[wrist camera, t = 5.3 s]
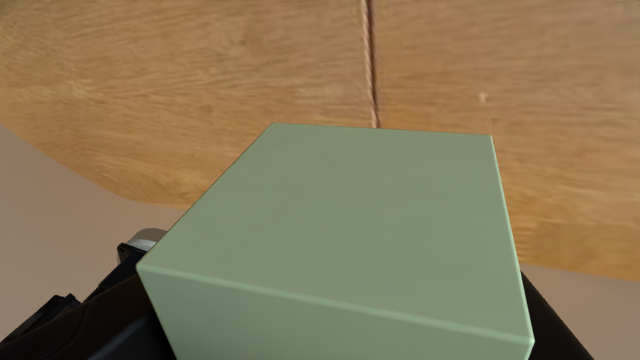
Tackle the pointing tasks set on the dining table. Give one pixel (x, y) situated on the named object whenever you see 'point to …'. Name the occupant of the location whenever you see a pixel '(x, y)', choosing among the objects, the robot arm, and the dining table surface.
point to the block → (345, 252)
